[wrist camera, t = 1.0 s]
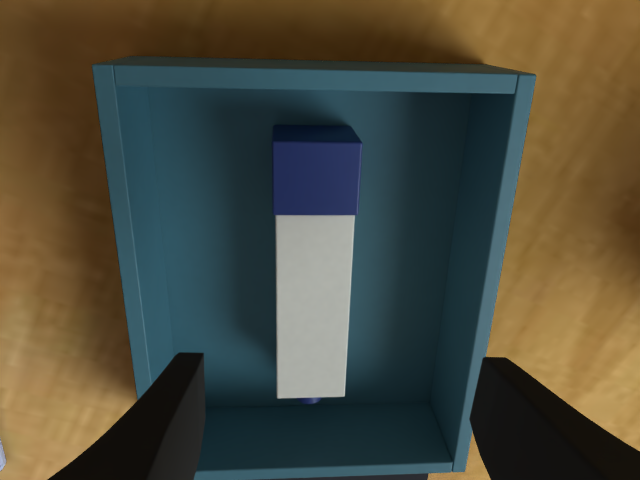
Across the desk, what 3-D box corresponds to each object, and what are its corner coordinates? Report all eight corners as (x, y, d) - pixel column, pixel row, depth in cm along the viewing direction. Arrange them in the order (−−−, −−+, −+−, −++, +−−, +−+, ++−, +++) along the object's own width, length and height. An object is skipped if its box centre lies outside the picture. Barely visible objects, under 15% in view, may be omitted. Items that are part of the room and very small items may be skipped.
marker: (339, 374, 24) (346, 420, 21) (275, 376, 24) (274, 421, 21) (351, 125, 20) (363, 141, 17) (273, 124, 19) (271, 141, 17)
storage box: (169, 412, 25) (148, 484, 21) (130, 55, 19) (90, 64, 15) (438, 405, 26) (465, 472, 22) (487, 64, 20) (537, 74, 16)
